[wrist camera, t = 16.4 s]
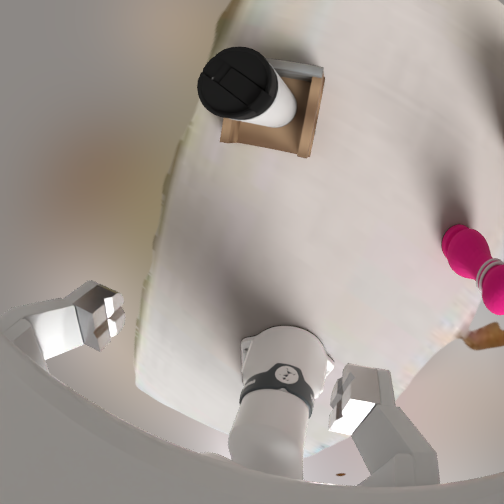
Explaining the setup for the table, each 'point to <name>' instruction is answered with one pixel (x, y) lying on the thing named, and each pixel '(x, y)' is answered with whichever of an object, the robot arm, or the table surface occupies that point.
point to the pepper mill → (476, 264)
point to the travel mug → (246, 89)
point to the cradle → (303, 124)
